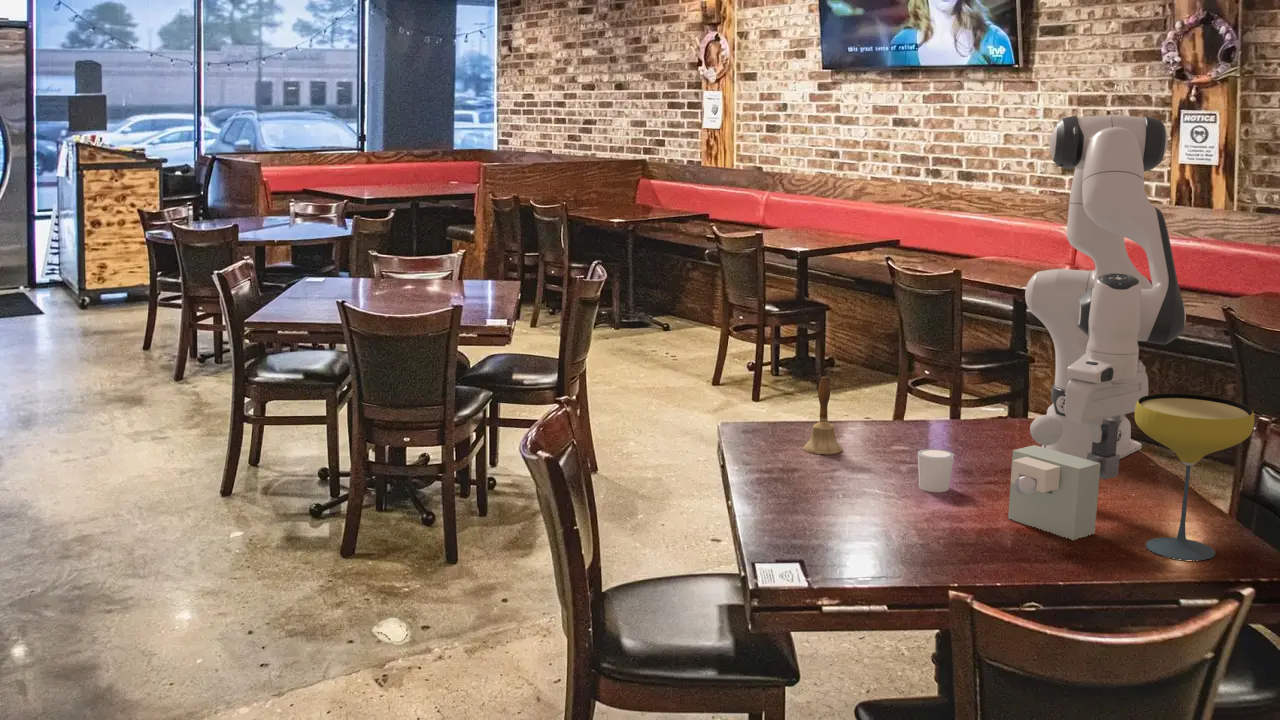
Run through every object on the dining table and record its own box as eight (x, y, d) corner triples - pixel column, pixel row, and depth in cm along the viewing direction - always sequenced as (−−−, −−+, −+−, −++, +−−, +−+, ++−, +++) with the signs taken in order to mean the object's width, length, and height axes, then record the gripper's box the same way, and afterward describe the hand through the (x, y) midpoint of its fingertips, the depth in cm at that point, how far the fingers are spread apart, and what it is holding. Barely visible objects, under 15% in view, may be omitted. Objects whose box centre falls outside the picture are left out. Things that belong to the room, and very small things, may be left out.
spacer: (1025, 478, 224) (1027, 456, 223) (1058, 488, 218) (1060, 466, 218) (1010, 482, 222) (1012, 460, 221) (1044, 492, 216) (1045, 470, 215)
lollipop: (1018, 487, 247) (1024, 412, 244) (1043, 484, 249) (1048, 410, 246) (1040, 496, 241) (1046, 420, 238) (1064, 493, 243) (1070, 417, 240)
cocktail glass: (1257, 570, 204) (1275, 420, 199) (1144, 568, 205) (1158, 418, 200) (1213, 532, 222) (1227, 394, 217) (1108, 530, 223) (1120, 392, 218)
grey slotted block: (1029, 512, 232) (1034, 445, 229) (1094, 533, 221) (1100, 463, 218) (1008, 518, 229) (1012, 450, 226) (1073, 540, 218) (1079, 468, 215)
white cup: (952, 494, 242) (954, 459, 241) (916, 492, 244) (917, 456, 242) (951, 483, 249) (953, 449, 248) (915, 481, 250) (917, 447, 249)
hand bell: (802, 453, 269) (805, 380, 266) (804, 443, 277) (806, 372, 274) (842, 455, 268) (845, 382, 264) (842, 445, 276) (845, 373, 272)
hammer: (1098, 470, 234) (1103, 418, 232) (1117, 475, 231) (1122, 422, 229) (1011, 494, 220) (1015, 438, 218) (1030, 500, 217) (1034, 443, 215)
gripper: (1129, 356, 236) (1123, 427, 239) (1061, 369, 224) (1055, 444, 227) (1160, 361, 231) (1153, 435, 234) (1092, 375, 219) (1085, 452, 222)
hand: (1104, 440), depth 230 cm, fingers closed on hammer, 3 cm apart
